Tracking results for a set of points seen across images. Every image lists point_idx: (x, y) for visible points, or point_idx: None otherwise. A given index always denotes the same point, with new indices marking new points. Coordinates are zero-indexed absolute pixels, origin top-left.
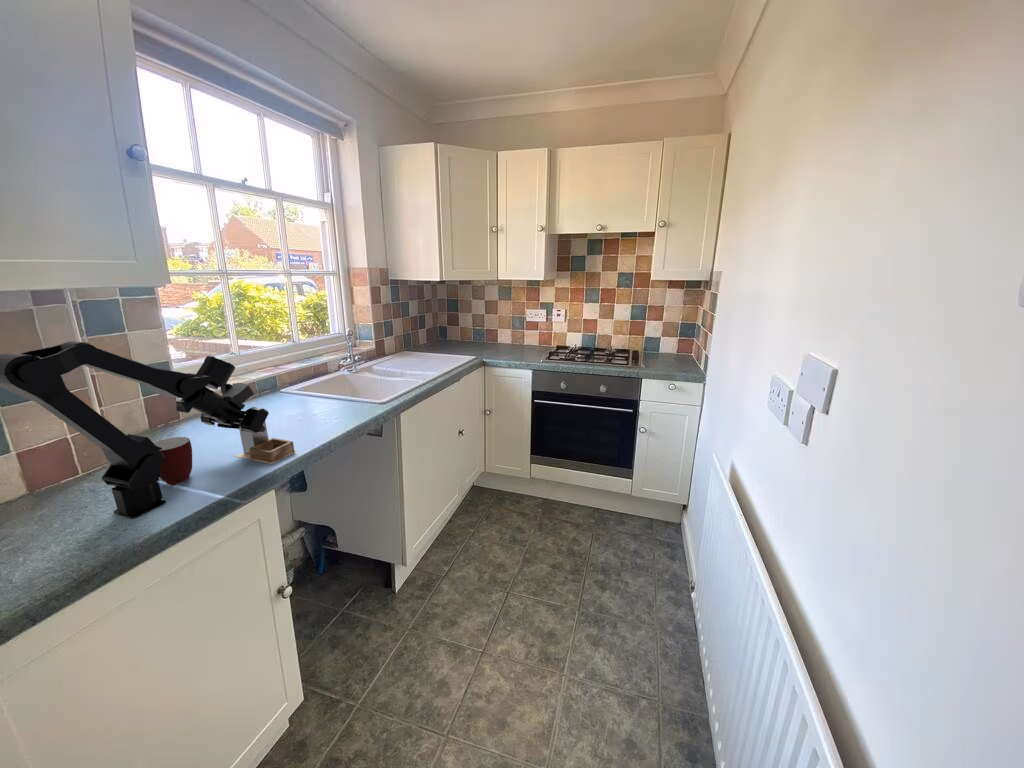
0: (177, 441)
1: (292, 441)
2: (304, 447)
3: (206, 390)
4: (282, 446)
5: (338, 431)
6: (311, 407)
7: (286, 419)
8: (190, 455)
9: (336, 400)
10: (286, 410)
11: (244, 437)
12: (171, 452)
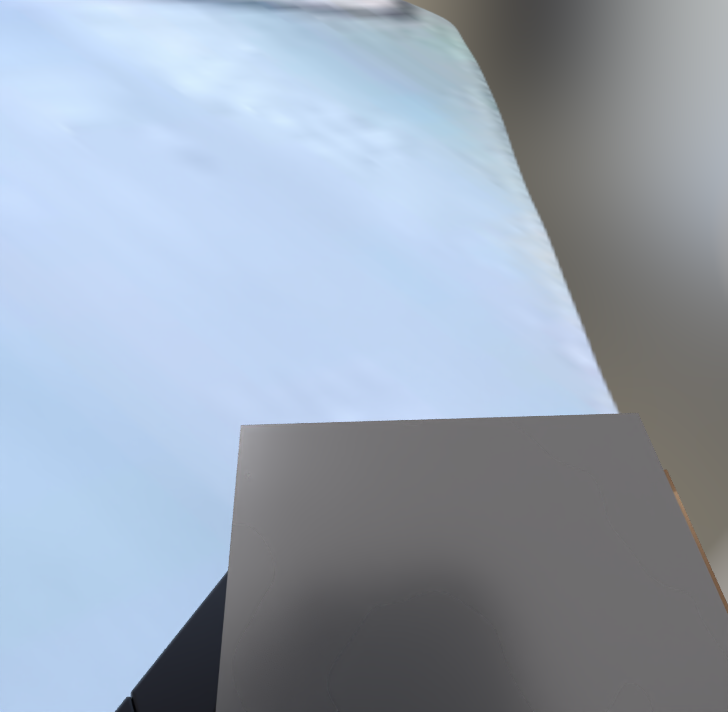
0: None
1: (667, 472)
2: (559, 404)
3: None
4: (721, 592)
5: (506, 212)
6: (126, 56)
7: (101, 164)
8: None
9: (188, 5)
10: (6, 90)
11: None
12: None
